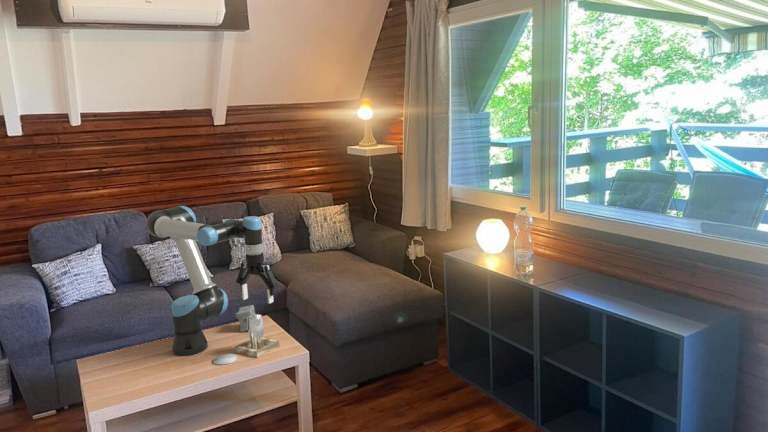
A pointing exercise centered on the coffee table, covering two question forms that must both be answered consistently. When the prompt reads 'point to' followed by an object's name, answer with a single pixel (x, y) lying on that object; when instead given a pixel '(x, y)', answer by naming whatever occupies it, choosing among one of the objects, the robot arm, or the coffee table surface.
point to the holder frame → (257, 353)
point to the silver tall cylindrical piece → (255, 331)
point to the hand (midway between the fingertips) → (258, 300)
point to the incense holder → (244, 316)
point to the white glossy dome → (225, 359)
